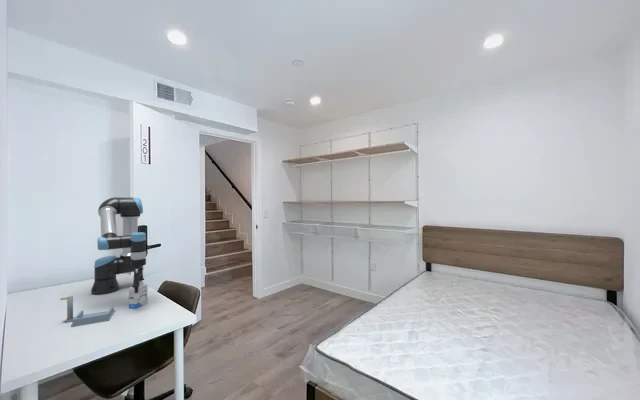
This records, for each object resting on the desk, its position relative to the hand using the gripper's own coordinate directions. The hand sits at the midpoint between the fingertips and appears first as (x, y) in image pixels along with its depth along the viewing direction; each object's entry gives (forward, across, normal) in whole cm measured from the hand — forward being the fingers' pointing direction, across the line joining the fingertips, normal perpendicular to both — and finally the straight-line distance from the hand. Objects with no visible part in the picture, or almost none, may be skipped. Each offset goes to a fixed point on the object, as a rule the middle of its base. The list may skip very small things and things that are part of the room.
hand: (138, 295), depth 156 cm
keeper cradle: (+6, +10, -21) cm, 24 cm away
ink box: (+7, 0, 0) cm, 7 cm away
